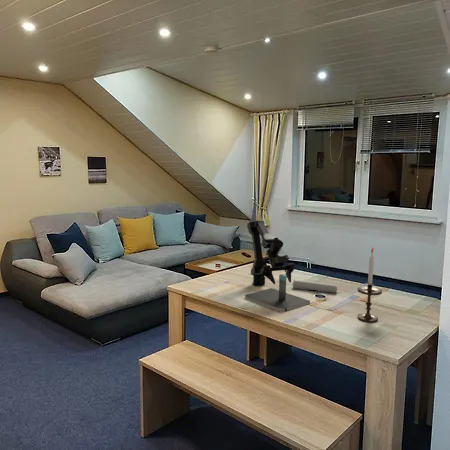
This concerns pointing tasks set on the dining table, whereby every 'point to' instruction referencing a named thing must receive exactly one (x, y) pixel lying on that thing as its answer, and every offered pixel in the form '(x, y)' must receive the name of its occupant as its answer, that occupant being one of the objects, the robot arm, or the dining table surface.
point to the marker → (282, 286)
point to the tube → (314, 286)
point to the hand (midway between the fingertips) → (282, 283)
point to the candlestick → (369, 293)
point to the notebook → (276, 300)
